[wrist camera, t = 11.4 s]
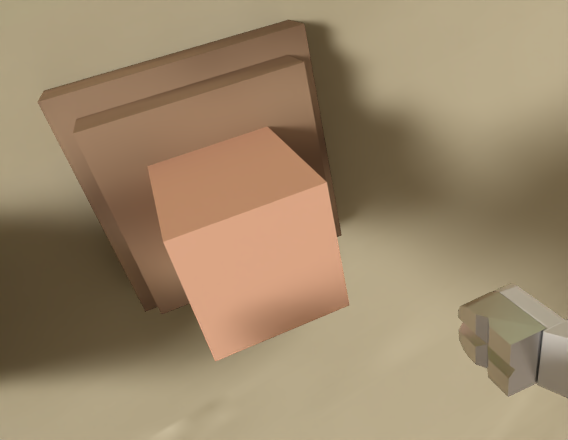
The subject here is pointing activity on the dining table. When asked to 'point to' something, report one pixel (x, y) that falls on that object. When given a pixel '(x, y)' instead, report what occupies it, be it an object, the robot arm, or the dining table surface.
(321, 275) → the block
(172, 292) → the plinth
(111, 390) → the dining table surface
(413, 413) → the dining table surface
